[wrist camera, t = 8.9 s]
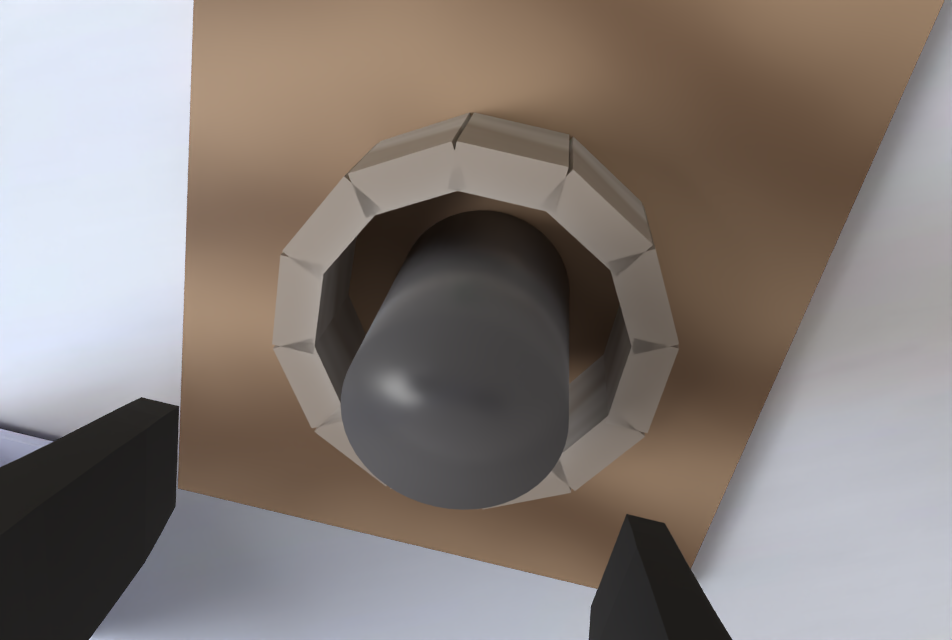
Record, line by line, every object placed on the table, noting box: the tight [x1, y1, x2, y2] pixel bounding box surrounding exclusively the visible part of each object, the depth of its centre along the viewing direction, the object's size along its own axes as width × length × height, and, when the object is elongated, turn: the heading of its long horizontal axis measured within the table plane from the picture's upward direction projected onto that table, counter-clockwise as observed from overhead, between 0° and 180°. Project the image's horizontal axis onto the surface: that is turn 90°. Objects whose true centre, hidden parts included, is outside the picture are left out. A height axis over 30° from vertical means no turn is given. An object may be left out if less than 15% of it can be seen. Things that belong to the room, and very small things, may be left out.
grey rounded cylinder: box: [340, 210, 569, 510], centre depth 17 cm, size 4×4×6 cm
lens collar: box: [178, 0, 944, 589], centre depth 19 cm, size 18×16×4 cm
